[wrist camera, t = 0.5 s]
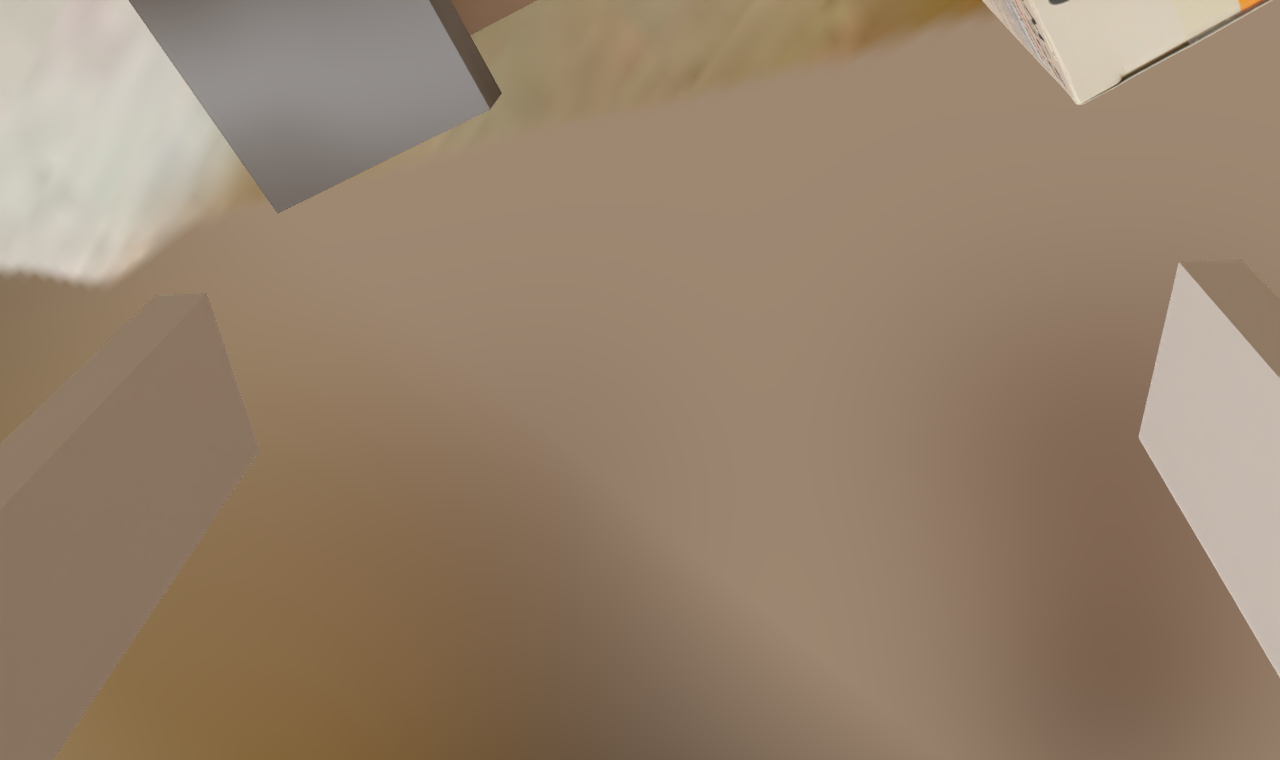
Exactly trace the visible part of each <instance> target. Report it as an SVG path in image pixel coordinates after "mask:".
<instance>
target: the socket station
mask: <svg viewBox="0 0 1280 760" xmlns="http://www.w3.org/2000/svg"><path fill="white" fill-rule="evenodd" d="M534 1H536V0H129V2H130V3H131V4H132V6H133V7H134V9H135V10H136V12H137V13H138V14H139V16H140V17H141V19H142V20H143V22H144V23H145V24H146V26H147V27H148V29H149V30H150V32H151V33H152V34H153V36H154V37H155V39H156V40H157V42H158V43H159V44H160V46H161V47H162V49H163V50H164V52H165V53H166V54H167V56H168V57H169V59H170V60H171V62H172V63H173V65H174V66H175V67H176V69H177V70H178V72H179V73H180V75H181V76H182V77H183V79H184V80H185V82H186V83H187V85H188V86H189V87H190V89H191V90H192V92H193V93H194V95H195V96H196V97H197V99H198V100H199V102H200V103H201V105H202V106H203V107H204V109H205V110H206V112H207V113H208V115H209V116H210V117H211V119H212V120H213V122H214V123H215V125H216V126H217V128H218V129H219V130H220V132H221V133H222V135H223V136H224V138H225V139H226V140H227V142H228V143H229V145H230V146H231V148H232V149H233V150H234V152H235V153H236V155H237V156H238V158H239V159H240V160H241V162H242V163H243V165H244V166H245V168H246V169H247V170H248V172H249V173H250V175H251V176H252V178H253V179H254V181H255V182H256V183H257V185H258V186H259V188H260V189H261V191H262V192H263V193H264V195H265V196H266V198H267V199H268V201H269V202H270V203H271V205H272V206H273V208H274V209H275V211H276V212H277V213H280V212H282V211H284V210H286V209H288V208H290V207H292V206H294V205H296V204H298V203H300V202H302V201H304V200H306V199H308V198H310V197H312V196H314V195H316V194H318V193H320V192H322V191H325V190H327V189H329V188H331V187H333V186H335V185H337V184H339V183H341V182H343V181H345V180H347V179H349V178H351V177H353V176H355V175H357V174H359V173H361V172H363V171H365V170H367V169H369V168H371V167H373V166H375V165H377V164H379V163H381V162H384V161H386V160H388V159H390V158H392V157H394V156H396V155H398V154H400V153H402V152H404V151H406V150H408V149H410V148H412V147H414V146H416V145H418V144H420V143H422V142H424V141H426V140H428V139H430V138H432V137H434V136H436V135H438V134H441V133H443V132H445V131H447V130H449V129H451V128H453V127H455V126H457V125H459V124H461V123H463V122H465V121H467V120H469V119H471V118H473V117H475V116H477V115H479V114H481V113H483V112H485V111H487V110H489V109H491V107H492V106H493V104H494V103H495V102H496V100H497V99H498V98H499V96H500V95H501V91H500V89H499V87H498V85H497V84H496V82H495V80H494V78H493V76H492V75H491V73H490V71H489V69H488V67H487V65H486V64H485V62H484V60H483V58H482V56H481V55H480V53H479V51H478V49H477V47H476V45H475V44H474V42H473V40H472V38H471V36H470V35H471V34H473V33H475V32H477V31H479V30H481V29H483V28H485V27H486V26H488V25H490V24H492V23H494V22H496V21H498V20H500V19H502V18H504V17H506V16H508V15H510V14H511V13H513V12H515V11H517V10H519V9H521V8H523V7H525V6H527V5H529V4H531V3H533V2H534Z"/></svg>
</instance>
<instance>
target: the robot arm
mask: <svg viewBox="0 0 1280 760" xmlns="http://www.w3.org/2000/svg"><path fill="white" fill-rule="evenodd" d="M1138 438H1139V439H1140V441H1141V443H1142V444H1143V446H1144V448H1145V449H1146V451H1147V453H1148V455H1149V456H1150V458H1151V460H1152V461H1153V463H1154V464H1155V466H1156V468H1157V470H1158V471H1159V473H1160V475H1161V476H1162V478H1163V480H1164V482H1165V483H1166V485H1167V487H1168V489H1169V490H1170V492H1171V493H1172V495H1173V497H1174V499H1175V500H1176V502H1177V504H1178V506H1179V507H1180V509H1181V511H1182V512H1183V514H1184V515H1185V517H1186V519H1187V521H1188V523H1189V524H1190V526H1191V528H1192V529H1193V531H1194V533H1195V534H1196V536H1197V538H1198V539H1199V541H1200V543H1201V545H1202V546H1203V548H1204V549H1205V551H1206V553H1207V555H1208V556H1209V558H1210V560H1211V562H1212V563H1213V565H1214V567H1215V568H1216V570H1217V572H1218V574H1219V575H1220V577H1221V579H1222V580H1223V582H1224V584H1225V585H1226V587H1227V589H1228V591H1229V592H1230V594H1231V596H1232V597H1233V599H1234V601H1235V602H1236V604H1237V606H1238V608H1239V609H1240V611H1241V612H1242V614H1243V616H1244V618H1245V619H1246V621H1247V623H1248V624H1249V626H1250V628H1251V630H1252V631H1253V633H1254V635H1255V636H1256V638H1257V640H1258V641H1259V643H1260V645H1261V647H1262V648H1263V650H1264V652H1265V653H1266V655H1267V657H1268V658H1269V660H1270V662H1271V664H1272V665H1273V667H1274V669H1275V670H1276V672H1277V674H1278V675H1279V677H1280V298H1279V297H1278V296H1277V295H1276V294H1275V293H1274V292H1273V291H1272V290H1271V289H1270V288H1269V287H1268V286H1267V285H1266V284H1265V283H1264V282H1263V281H1262V280H1261V279H1260V278H1259V277H1258V276H1257V275H1256V273H1254V272H1253V271H1252V269H1250V267H1248V266H1247V264H1246V263H1245V262H1243V261H1242V260H1225V261H1195V262H1179V264H1178V269H1177V273H1176V277H1175V281H1174V286H1173V290H1172V295H1171V299H1170V303H1169V307H1168V312H1167V316H1166V320H1165V325H1164V330H1163V333H1162V338H1161V342H1160V346H1159V351H1158V355H1157V359H1156V364H1155V368H1154V372H1153V377H1152V381H1151V385H1150V390H1149V394H1148V398H1147V403H1146V407H1145V411H1144V416H1143V420H1142V424H1141V429H1140V434H1139V437H1138ZM259 451H260V449H259V446H258V444H257V440H256V438H255V435H254V432H253V429H252V426H251V423H250V420H249V417H248V414H247V411H246V408H245V405H244V402H243V399H242V396H241V393H240V391H239V388H238V385H237V381H236V379H235V375H234V372H233V370H232V366H231V363H230V361H229V358H228V355H227V352H226V349H225V346H224V343H223V340H222V337H221V334H220V331H219V328H218V325H217V322H216V319H215V316H214V313H213V310H212V308H211V304H210V301H209V298H208V296H207V293H206V294H205V293H204V294H173V295H156V296H154V297H153V298H152V299H151V300H150V301H149V302H148V303H147V304H146V305H145V306H144V307H143V308H142V309H141V310H140V311H139V312H138V313H137V314H135V316H133V317H132V318H131V319H130V320H129V321H128V322H127V323H126V324H125V325H124V326H123V327H122V328H121V329H120V330H119V331H118V332H117V333H116V334H115V335H114V336H113V337H111V338H110V339H109V340H108V341H107V342H106V343H105V344H104V345H103V346H102V347H101V348H100V349H99V350H98V351H97V352H96V353H95V354H94V355H93V356H91V357H90V358H89V359H88V360H87V361H86V362H85V363H84V364H83V365H82V366H81V367H80V368H79V369H78V370H77V371H76V372H75V373H74V374H73V375H72V376H71V377H70V378H68V379H67V380H66V381H65V382H64V383H63V384H62V385H61V386H60V387H59V388H58V389H57V390H56V391H55V392H54V393H53V394H52V395H51V396H50V397H49V398H47V400H45V401H44V402H43V403H42V404H41V405H40V406H39V407H38V408H37V409H36V410H35V411H34V412H33V413H32V414H31V415H30V416H29V417H28V418H27V419H26V420H24V421H23V422H22V423H21V424H20V425H19V426H18V427H17V428H16V429H15V430H14V431H13V432H12V433H11V434H10V435H9V436H8V437H7V438H6V439H5V440H4V441H3V442H1V443H0V760H54V758H55V757H56V755H57V754H58V752H59V751H60V749H61V747H62V746H63V745H64V743H65V742H66V740H67V739H68V737H69V736H70V734H71V733H72V731H73V730H74V728H75V727H76V725H77V723H78V722H79V721H80V719H81V718H82V716H83V715H84V713H85V712H86V710H87V709H88V707H89V706H90V704H91V703H92V701H93V700H94V698H95V697H96V695H97V694H98V692H99V691H100V689H101V688H102V686H103V685H104V683H105V682H106V680H107V679H108V677H109V676H110V674H111V673H112V671H113V670H114V668H115V667H116V665H117V664H118V662H119V661H120V659H121V658H122V656H123V655H124V653H125V652H126V650H127V649H128V647H129V646H130V644H131V643H132V641H133V640H134V638H135V637H136V635H137V634H138V632H139V631H140V629H141V628H142V626H143V625H144V623H145V622H146V621H147V619H148V617H149V616H150V614H151V613H152V612H153V610H154V609H155V607H156V606H157V604H158V603H159V601H160V600H161V598H162V597H163V595H164V594H165V592H166V591H167V589H168V588H169V586H170V584H171V583H172V582H173V580H174V579H175V577H176V576H177V574H178V573H179V571H180V570H181V568H182V567H183V565H184V564H185V562H186V561H187V559H188V558H189V556H190V554H191V553H192V551H193V550H194V549H195V547H196V546H197V544H198V543H199V541H200V540H201V538H202V537H203V535H204V534H205V532H206V531H207V529H208V528H209V526H210V525H211V523H212V522H213V520H214V519H215V517H216V516H217V514H218V513H219V511H220V510H221V508H222V507H223V505H224V504H225V502H226V501H227V499H228V498H229V496H230V495H231V493H232V492H233V490H234V488H235V487H236V486H237V484H238V483H239V481H240V480H241V478H242V476H243V475H244V474H245V472H246V471H247V469H248V468H249V466H250V465H251V463H252V462H253V460H254V459H255V457H256V456H257V454H258V453H259Z"/></svg>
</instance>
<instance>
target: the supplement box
mask: <svg viewBox="0 0 1280 760" xmlns="http://www.w3.org/2000/svg"><path fill="white" fill-rule="evenodd" d="M982 1H983V2H984V3H985V4H986V5H987V7H988V8H989V9H990V10H991V11H992V12H993V13H994V14H995V15H996V16H997V17H998V19H999V20H1000V21H1001V22H1002V23H1003V24H1004V25H1005V26H1006V27H1007V28H1008V29H1009V30H1010V31H1011V33H1012V34H1013V35H1014V36H1015V37H1016V38H1017V39H1018V40H1019V41H1020V42H1021V43H1022V44H1023V46H1025V48H1026V49H1027V50H1028V51H1029V52H1030V53H1031V54H1032V55H1033V56H1034V57H1035V59H1036V60H1037V61H1038V62H1039V63H1040V64H1041V65H1042V66H1043V67H1044V68H1045V69H1046V70H1047V71H1048V72H1049V73H1050V74H1051V76H1052V77H1053V78H1054V79H1055V80H1056V81H1057V82H1059V83H1060V85H1061V86H1062V87H1063V88H1064V89H1065V90H1066V92H1067V93H1068V94H1069V95H1070V96H1071V98H1072V99H1073V100H1074V102H1075V103H1076V104H1078V105H1082V104H1085V103H1086V102H1088V101H1090V100H1092V99H1094V98H1096V97H1098V96H1100V95H1102V94H1103V93H1105V92H1107V91H1109V90H1112V89H1114V88H1115V87H1117V86H1119V85H1121V84H1123V83H1124V82H1126V81H1127V80H1129V79H1131V78H1133V77H1134V76H1136V75H1138V74H1140V73H1142V72H1143V71H1145V70H1147V69H1149V68H1150V67H1152V66H1154V65H1156V64H1158V63H1160V62H1162V61H1164V60H1166V59H1168V58H1169V57H1171V56H1173V55H1175V54H1177V53H1179V52H1181V51H1183V50H1185V49H1187V48H1189V47H1191V46H1192V45H1194V44H1196V43H1198V42H1199V41H1201V40H1203V39H1205V38H1207V37H1208V36H1211V35H1213V34H1214V33H1216V32H1218V31H1219V30H1221V29H1223V28H1224V27H1226V26H1228V25H1230V24H1232V23H1234V22H1235V21H1237V20H1239V19H1241V18H1242V17H1244V16H1246V15H1247V14H1249V13H1251V12H1253V11H1255V10H1256V9H1258V8H1260V7H1261V6H1263V5H1265V4H1267V3H1269V2H1270V1H1272V0H982Z"/></svg>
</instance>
